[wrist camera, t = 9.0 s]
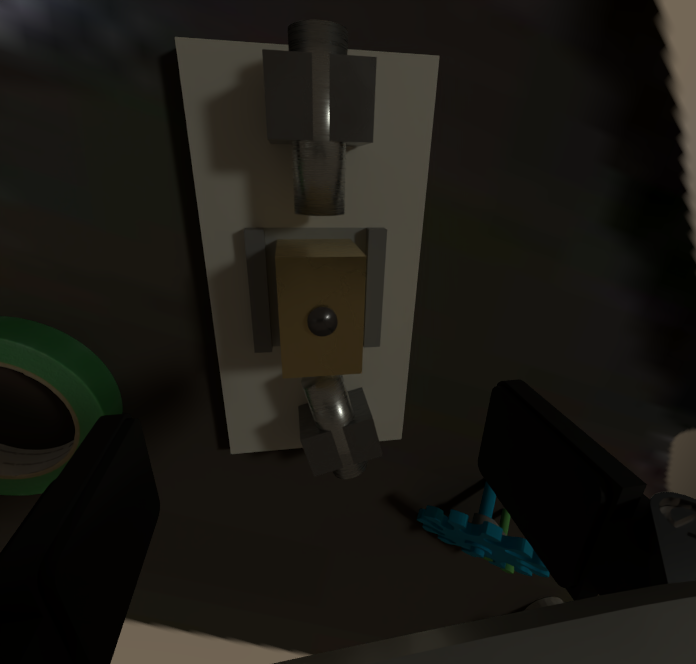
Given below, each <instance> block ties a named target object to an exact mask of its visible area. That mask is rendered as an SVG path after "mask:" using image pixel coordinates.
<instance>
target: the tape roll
mask: <svg viewBox="0 0 696 664" xmlns="http://www.w3.org/2000/svg"><path fill="white" fill-rule="evenodd" d="M0 366H1V367H6V368H10V369H13V370H16V371H19V372H22V373H24V375H27V376H29V377H31V378H34V379H35V380H37V381H39V382H41V383H42V384H44V385H45V386H47V387H48V388H49V389H51V390H52V391H53V393H55V394H56V395H57V396H58V397H59V398H60V399H61V400H62V401H63V402H64V404H65V405H66V407H67V408H68V409H69V411H70V413H71V415H72V419H73V422H74V425H75V437H74V440H73V441H71V442H69V443H67V444H65V445H62V446H59V447H55V448H50V449H42V450H29V449H20V448H14V447H10V446H6V445H3V444H0V495H34V494H41V493H43V492H44V491H45V490H46V488H47V487H48V486H49V484H50V483H51V482H52V481H53V480H55V479H57V477H58V476H59V474H60V473H61V471H62V470H63V469H64V467H65V466H66V464H67V463H68V461H69V460H70V459H71V457H72V456H73V454H74V453H75V451H76V450H77V449H78V447H79V446H80V444H81V443H82V441H83V440H84V439H85V437H86V436H87V434H88V433H89V431H90V430H91V429H92V427H93V426H94V424H95V423H96V421H97V420H98V419H99V418H100V417H101V416H104V415H116V414H122V409H123V407H122V399H121V394H120V391H119V388H118V385H117V383H116V381H115V379H114V377H113V376H112V374H111V373H110V371H109V370H108V368H107V367H106V366H105V364H104V363H103V362H102V361H101V360H100V359H99V358H98V357H97V356H96V355H95V354H94V353H93V352H92V351H91V350H89V349H88V348H87V347H86V346H84V345H83V344H82V343H80V342H79V341H77V340H76V339H74V338H72V337H71V336H69V335H67V334H65V333H63V332H61V331H59V330H57V329H55V328H52V327H50V326H47V325H44V324H41V323H38V322H34V321H31V320H26V319H21V318H15V317H5V316H0Z"/></svg>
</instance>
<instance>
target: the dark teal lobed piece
mask: <svg viewBox="0 0 696 664" xmlns="http://www.w3.org/2000/svg"><path fill="white" fill-rule="evenodd" d="M495 499H496V494H495V493H494V491H493V490H492V489H491V487H490V486H489V484H488V483H487V481H486V483H485V487H484V492H483V496H482V500H481V505H480V509H479V514H478V513H475V514H474V517H473V521H472V523H469V522H468V518H469V516H468V515H466V514H464V513H461V512H459V511H456V510H453V509H451V510H450V514H449V517H447V516H445V515H444V514H443V513H444V512H443V511H442V510H441V509H440V508H437V507H434V506H428V505H427V507H426V509H420V510H419V513H418V516H417V519H416V520H418V521H419V522H421V523H423V526H422V527H423V528H424V529H425V530H427V531H429V532H432V533H435V534H438V538H439V539H440V540H441V541H443V542H445V543H447V544H453V545H457V546H461V547H462V549H461V551H463V552H465V553H467V554H469V555H471V556H473V557H476V556H477V557H480V558H483V559H486V560H488V561H489V563H491V564H493V565H496V566H498V567H500V569H501V570H503V571H505V572H507V573H510V574H513V572H514V570H515V571H517V572H519V573H521V574H524V575H528V576H531V577H532V573H534V574H536V575H538V576H542V577H549V573H550V572H549V571H548V570H547V568H546V567H545V565H544V564H543V562H542V561H541V559H540V558H539V557H538V555H537V554H536V552H535V551H534V550H533V548H532V546H531V545H530V544H529V542H528V541H527V540H526V539H523V538H520V537H510V536H507V532H508V527H509V521H510V515H509V513H508V512H507V510H506V509H502V514H501V519H500V525H499V526H498V524H497V523H496V522H495V521H494V520H493V519H491V518H492V514H493V509H494V504H495Z"/></svg>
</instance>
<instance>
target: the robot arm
mask: <svg viewBox="0 0 696 664" xmlns="http://www.w3.org/2000/svg"><path fill="white" fill-rule="evenodd" d="M478 467H479V470H480V472H481V474H482V476H483V477H484V478H485V480H486V481H487V483H488V484H489V486H490V487H491V489H492V490H493V491H494V493H495V494H496V496H497V497H498V499H499V500H500V502H501V503H502V504H503V506H504V507H505V509H506V510H507V512H508V513H509V515H510V516H511V517H512V519H513V520H514V522H515V523H516V525H517V526H518V528H519V529H520V531H521V532H522V533H523V535H524V536H525V538H526V539H527V541H528V542H529V544H530V545H531V546H532V548H533V549H534V551H535V552H536V554H537V555H538V557H539V558H540V559H541V561H542V562H543V564H544V565H545V567H546V568H547V570H548V571H549V572H550V574H551V575H552V577H553V578H554V580H555V581H556V582H557V583H558V585H560V586H561V587H563V588H566V589H567V591H568V592H569V594H570V595H571V597H572V598H573V599H574V601H570V602H565V603H561V604H556V605H551V606H546V607H541V608H536V609H531V610H526V611H521V612H516V613H511V614H506V615H501V616H496V617H492V618H487V619H482V620H477V621H472V622H467V623H463V624H458V625H453V626H448V627H443V628H439V629H434V630H429V631H424V632H419V633H415V634H410V635H405V636H400V637H396V638H391V639H386V640H381V641H377V642H372V643H367V644H362V645H358V646H353V647H348V648H343V649H339V650H334V651H329V652H325V653H320V654H315V655H311V656H306V657H301V658H297V659H292V660H287V661H283V662H278V663H274V664H696V499H694V498H691V497H688V496H686V495H682V494H678V493H674V492H660V493H656V494H654V495H653V496H652V497H651V499H649V498H647V497H646V496H645V495H644V494H643V492H644V490H645V488H646V485H647V484H646V483H644V482H643V481H642V480H641V479H640V478H638V477H637V476H636V475H635V474H634V473H632V472H631V471H630V470H629V469H628V468H626V467H625V466H624V465H623V464H622V463H620V462H619V461H618V460H617V459H616V458H615V457H613V456H612V455H611V454H610V453H609V452H607V451H606V450H605V449H604V448H603V447H601V446H600V445H599V444H598V443H597V442H595V441H594V440H593V439H592V438H591V437H589V436H588V435H587V434H586V433H585V432H583V431H582V430H581V429H580V428H579V427H577V426H576V425H575V424H574V423H573V422H572V421H570V420H569V419H568V418H567V417H566V416H564V415H563V414H562V413H561V412H560V411H558V410H557V409H556V408H555V407H554V406H552V405H551V404H550V403H549V402H548V401H546V400H545V399H544V398H543V397H542V396H540V395H539V394H538V393H537V392H536V391H534V390H533V389H532V388H531V387H530V386H528V385H527V384H526V383H525V382H524V381H522V380H509V381H501V382H499V383H498V384H497V387H494V388H493V389H492V393H491V398H490V403H489V408H488V412H487V417H486V422H485V427H484V432H483V437H482V442H481V447H480V452H479V457H478ZM159 511H160V501H159V496H158V492H157V488H156V484H155V480H154V476H153V472H152V468H151V463H150V459H149V455H148V451H147V447H146V443H145V439H144V435H143V431H142V427H141V423H140V421H139V419H132V417H131V415H130V414H128V413H127V414H116V415H104V416H101V417H100V418H99V419H98V420H97V421H96V423H95V424H94V426H93V427H92V429H91V430H90V431H89V433H88V434H87V436H86V437H85V439H84V440H83V441H82V443H81V444H80V446H79V447H78V449H77V450H76V451H75V453H74V454H73V456H72V457H71V459H70V460H69V461H68V463H67V464H66V466H65V467H64V469H63V470H62V471H61V473H60V474H59V476H58V477H57V479H55V480H53V481H52V482H51V483H50V484H49V486H48V487H47V488H46V490H45V491H44V492H43V494H42V495H41V497H40V498H39V499H38V501H37V502H36V504H35V505H34V506H33V508H32V509H31V511H30V512H29V513H28V515H27V516H26V518H25V519H24V521H23V522H22V523H21V525H20V526H19V528H18V529H17V530H16V532H15V533H14V535H13V536H12V537H11V539H10V540H9V542H8V543H7V544H6V546H5V547H4V549H3V550H2V552H1V553H0V664H110V663H111V660H112V657H113V654H114V651H115V648H116V644H117V642H118V638H119V635H120V632H121V629H122V626H123V623H124V620H125V617H126V614H127V611H128V608H129V605H130V602H131V599H132V596H133V593H134V590H135V587H136V584H137V581H138V577H139V574H140V571H141V568H142V565H143V562H144V559H145V556H146V553H147V550H148V547H149V544H150V541H151V538H152V535H153V532H154V529H155V526H156V523H157V519H158V516H159ZM598 594H599V595H600V596H597V595H598Z"/></svg>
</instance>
